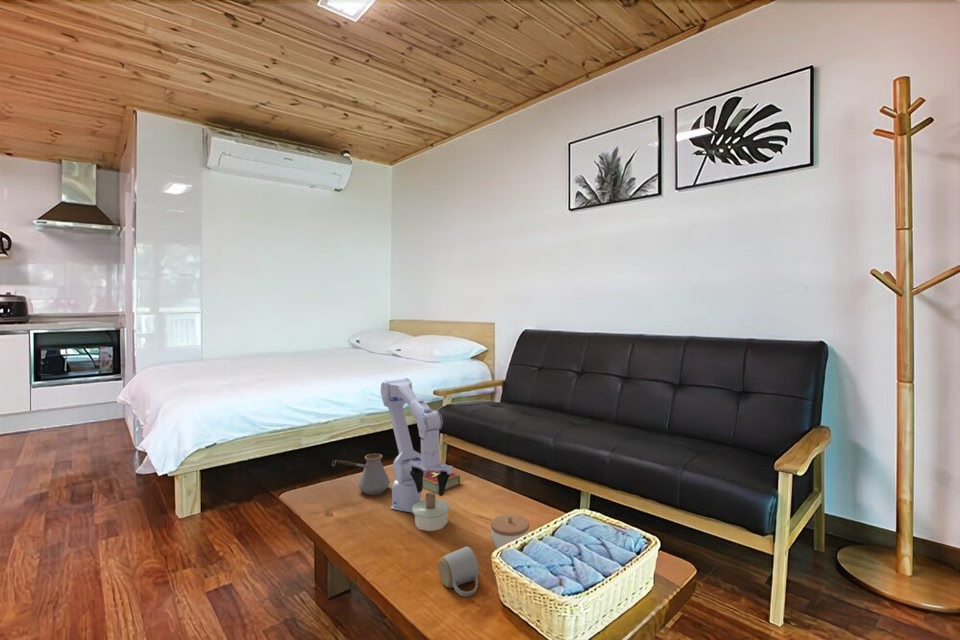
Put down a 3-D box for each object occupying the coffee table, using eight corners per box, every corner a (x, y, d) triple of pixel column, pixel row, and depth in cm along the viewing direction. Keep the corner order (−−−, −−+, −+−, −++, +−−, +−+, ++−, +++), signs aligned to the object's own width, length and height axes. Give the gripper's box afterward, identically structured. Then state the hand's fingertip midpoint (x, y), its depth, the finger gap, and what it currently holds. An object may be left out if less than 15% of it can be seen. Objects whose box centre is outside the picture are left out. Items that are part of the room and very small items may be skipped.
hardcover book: (424, 471, 192) (424, 461, 192) (460, 484, 178) (459, 473, 178) (400, 479, 184) (400, 469, 184) (436, 494, 169) (436, 483, 169)
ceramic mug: (436, 579, 117) (436, 550, 117) (464, 569, 121) (464, 540, 121) (456, 603, 108) (456, 571, 108) (486, 591, 112) (486, 560, 112)
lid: (405, 515, 142) (405, 500, 142) (421, 499, 154) (421, 485, 153) (441, 520, 139) (441, 504, 139) (454, 503, 150) (454, 489, 150)
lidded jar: (527, 562, 124) (527, 527, 124) (487, 558, 127) (487, 524, 126) (531, 541, 135) (530, 509, 135) (494, 538, 137) (494, 507, 137)
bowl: (410, 527, 144) (410, 513, 144) (425, 514, 153) (424, 501, 153) (437, 532, 141) (437, 518, 140) (451, 519, 149) (450, 505, 149)
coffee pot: (380, 481, 181) (380, 443, 180) (395, 491, 172) (395, 451, 171) (327, 497, 167) (326, 456, 166) (340, 508, 158) (339, 464, 157)
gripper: (403, 451, 145) (404, 494, 145) (445, 457, 139) (446, 501, 140) (414, 445, 151) (415, 486, 152) (455, 450, 146) (455, 492, 146)
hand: (430, 493), depth 146 cm, fingers open, 7 cm apart
